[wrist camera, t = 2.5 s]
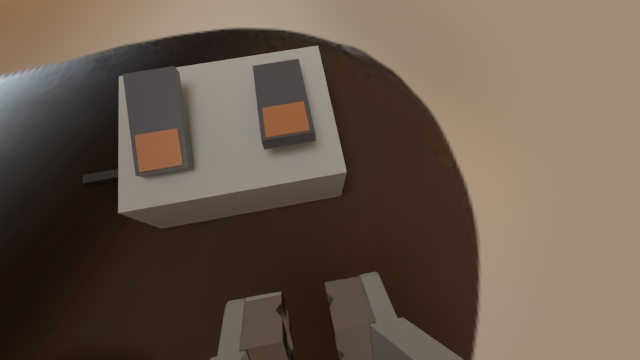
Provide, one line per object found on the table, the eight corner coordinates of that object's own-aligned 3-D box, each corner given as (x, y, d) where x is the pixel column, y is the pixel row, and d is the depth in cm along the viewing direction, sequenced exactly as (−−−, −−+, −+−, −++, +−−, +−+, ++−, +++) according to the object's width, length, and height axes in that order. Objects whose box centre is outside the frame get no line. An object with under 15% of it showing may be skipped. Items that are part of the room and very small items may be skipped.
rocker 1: (145, 178, 29) (134, 175, 27) (133, 82, 30) (121, 73, 28) (195, 169, 29) (187, 166, 27) (181, 74, 30) (173, 65, 28)
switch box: (86, 242, 35) (20, 230, 27) (90, 125, 39) (35, 86, 31) (341, 195, 36) (346, 172, 29) (317, 88, 41) (317, 43, 33)
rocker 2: (265, 153, 27) (261, 139, 26) (256, 79, 32) (252, 64, 30) (316, 144, 28) (315, 130, 26) (300, 72, 32) (298, 57, 31)
